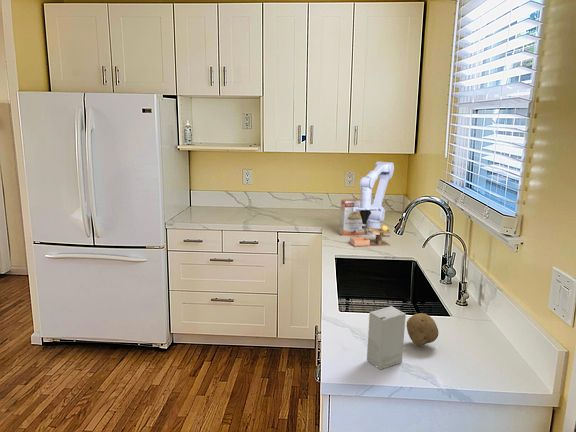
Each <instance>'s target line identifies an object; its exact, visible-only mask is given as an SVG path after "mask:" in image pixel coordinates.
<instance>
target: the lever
mask: <svg viewBox="0 0 576 432" xmlns="http://www.w3.org/2000/svg"><path fill="white" fill-rule="evenodd" d="M366 228H367V226H366V225H365V226H362V229H364V230H366V231H368V232H369V233H371V234H373V235H380V232H383V233H384V236H383V238H384V237H385V238H390V237H391V229H388V230H387V231H381V228H380V229H378V228H369V229H366Z"/></svg>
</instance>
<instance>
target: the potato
mask: <svg viewBox="0 0 576 432" xmlns="http://www.w3.org/2000/svg"><path fill="white" fill-rule="evenodd" d="M406 330H407V334H408V336H409V338H410V341H411V342H412V343H413V344H414V346H416V347H418V346H419V347H424V346H425V345H427V344H430V343H433V342H435V341H436V340H437V339H438V337H439V333H440V332H439V328H438V326H437V323H436V322H435V320H434V319H433V318H432V317H431V316H430V315H428V314H426V313H422V312H420V313H415V314H413V315H411V316H410V317H409V318H408V319H407V321H406ZM419 347H418V348H419Z"/></svg>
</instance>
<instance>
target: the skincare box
mask: <svg viewBox="0 0 576 432" xmlns="http://www.w3.org/2000/svg"><path fill="white" fill-rule="evenodd" d="M368 317H369V318H368V330H367V331H368V334H367V349H366V350H367V351H366V352H367V353H366V361H367V360H368V361H370V362H371V363H372V364H371V363H370V362H369V363H370V364H371V365H373V364H374V365H375V366H377V367H378V368H379V369H378V368H377V367H376V368H377V369H378V370H380V369H381V370H383V369H382V368H384V369H386V368H385V367H387V368H390V367H392V365H393V366H395V364H396V365H398V364H401V363H403V355H404V354H403V353H404V343H405V341H404V340H405V328H406V317H407V314H406V313H405V312H403V311H401V310H399V309H398V308H396V307H394V306H392V305H390V306H386V307H384V308H381V309H377V310H372V311H369V315H368ZM368 361H367V362H368ZM374 365H373V366H374ZM375 366H374V367H375ZM389 366H390V367H389Z"/></svg>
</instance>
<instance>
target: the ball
mask: <svg viewBox="0 0 576 432" xmlns="http://www.w3.org/2000/svg"><path fill="white" fill-rule="evenodd" d="M380 229H381V231H387V230H389V228H388V226H387V225H382V226H381V227H380Z"/></svg>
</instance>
